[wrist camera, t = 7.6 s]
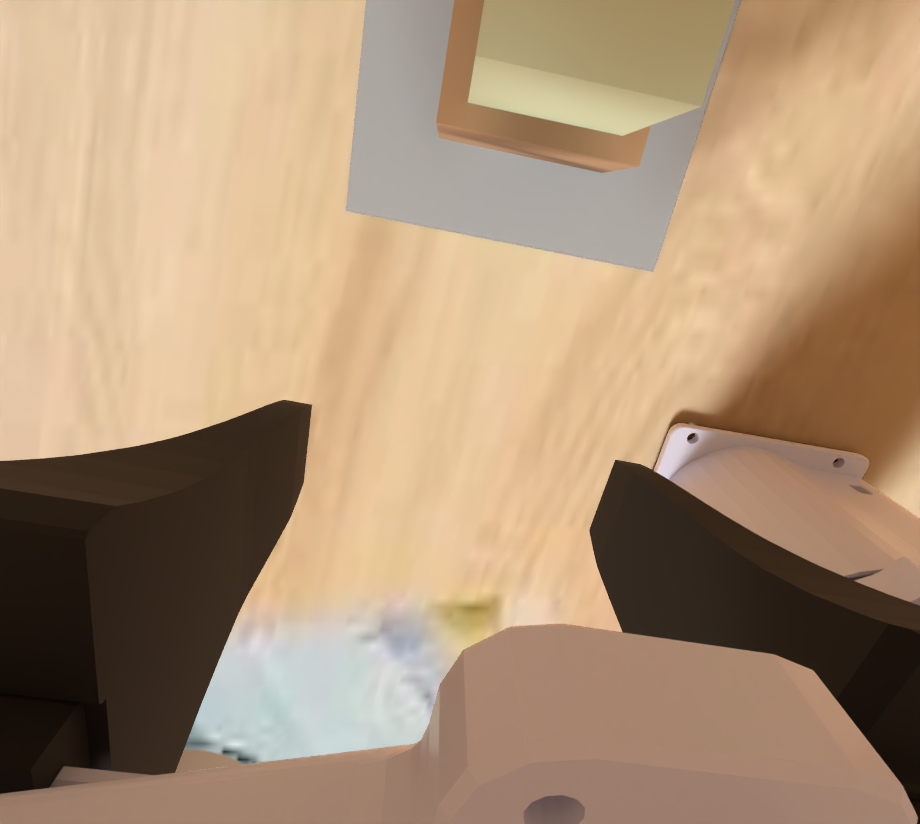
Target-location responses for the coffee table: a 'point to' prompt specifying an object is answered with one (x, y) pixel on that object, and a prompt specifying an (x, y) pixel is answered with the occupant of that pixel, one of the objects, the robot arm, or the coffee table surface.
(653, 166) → the build pad
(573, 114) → the green block
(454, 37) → the walnut block
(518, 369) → the coffee table surface
